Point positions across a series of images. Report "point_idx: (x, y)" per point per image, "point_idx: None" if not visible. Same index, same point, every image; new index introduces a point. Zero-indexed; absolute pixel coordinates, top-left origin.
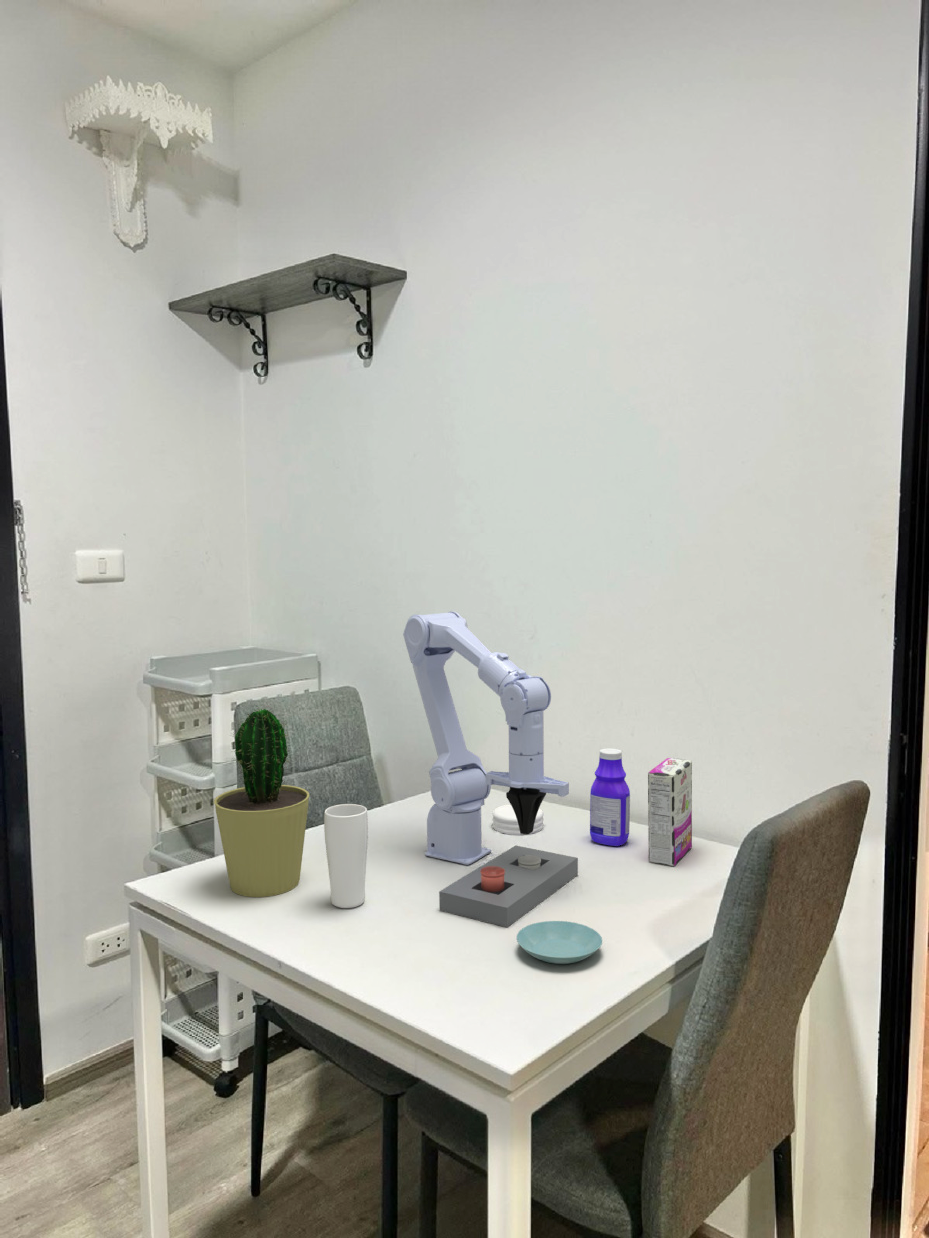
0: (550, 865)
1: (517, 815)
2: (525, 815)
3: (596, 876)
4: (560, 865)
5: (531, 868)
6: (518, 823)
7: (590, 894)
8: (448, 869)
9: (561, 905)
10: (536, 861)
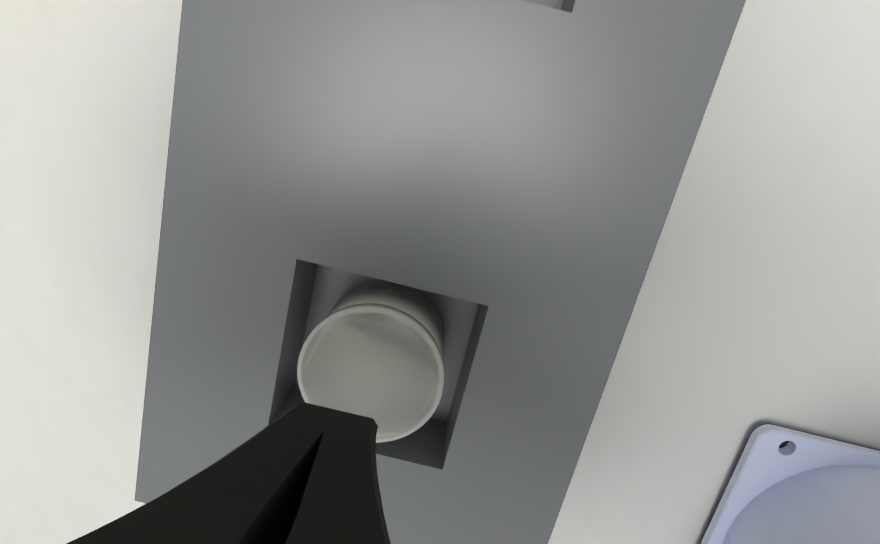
0: (236, 351)
1: (355, 535)
2: (201, 514)
3: (100, 446)
4: (182, 368)
5: (344, 304)
6: (367, 464)
7: (42, 227)
8: (861, 349)
9: (120, 33)
10: (317, 357)
